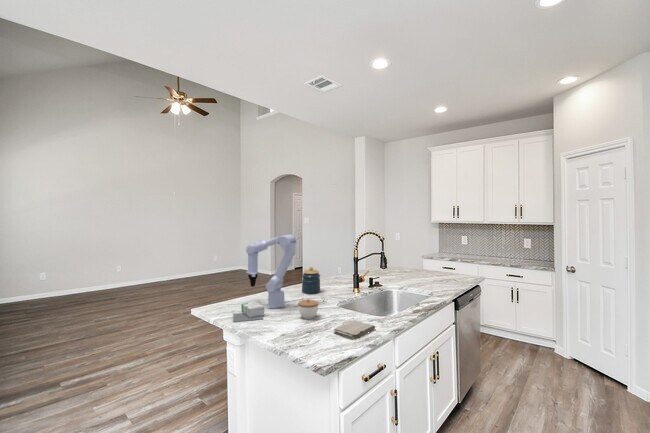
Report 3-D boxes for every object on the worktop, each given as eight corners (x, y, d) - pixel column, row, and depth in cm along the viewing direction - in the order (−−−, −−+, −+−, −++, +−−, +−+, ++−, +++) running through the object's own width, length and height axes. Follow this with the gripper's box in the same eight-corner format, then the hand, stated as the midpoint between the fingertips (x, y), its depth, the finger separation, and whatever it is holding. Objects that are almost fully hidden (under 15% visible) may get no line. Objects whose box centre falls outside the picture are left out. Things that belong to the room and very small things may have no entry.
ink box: (241, 312, 173) (249, 318, 163) (241, 303, 173) (249, 308, 163) (255, 309, 178) (264, 315, 168) (255, 300, 178) (264, 305, 168)
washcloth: (332, 334, 144) (332, 328, 144) (355, 324, 157) (355, 318, 157) (353, 341, 136) (353, 334, 136) (375, 330, 149) (375, 323, 149)
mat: (261, 312, 174) (261, 311, 174) (263, 319, 162) (263, 318, 162) (233, 314, 170) (233, 313, 170) (233, 322, 158) (233, 321, 158)
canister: (320, 294, 213) (320, 268, 213) (301, 294, 213) (301, 268, 213) (320, 289, 226) (320, 265, 226) (302, 289, 226) (302, 265, 226)
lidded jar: (309, 312, 174) (309, 295, 174) (322, 317, 167) (322, 299, 166) (294, 316, 167) (294, 299, 167) (307, 321, 159) (307, 303, 159)
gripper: (245, 262, 197) (245, 284, 197) (246, 266, 183) (246, 289, 184) (257, 262, 199) (257, 283, 199) (258, 266, 185) (258, 288, 186)
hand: (252, 286), depth 192 cm, fingers closed
